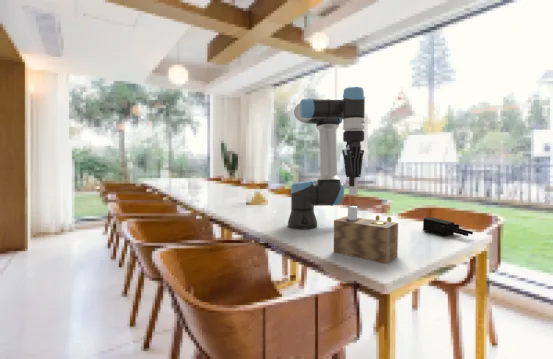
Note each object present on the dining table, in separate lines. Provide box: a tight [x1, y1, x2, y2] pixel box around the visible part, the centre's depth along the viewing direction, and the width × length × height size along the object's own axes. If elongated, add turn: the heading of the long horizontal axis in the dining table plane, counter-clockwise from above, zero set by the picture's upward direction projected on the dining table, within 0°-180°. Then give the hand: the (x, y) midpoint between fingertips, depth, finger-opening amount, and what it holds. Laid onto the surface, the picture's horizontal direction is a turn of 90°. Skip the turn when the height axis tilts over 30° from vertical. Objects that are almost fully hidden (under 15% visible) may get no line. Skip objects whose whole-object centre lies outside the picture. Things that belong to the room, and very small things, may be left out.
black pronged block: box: [422, 216, 474, 237], centre depth 139 cm, size 11×6×20 cm
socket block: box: [333, 215, 399, 264], centre depth 112 cm, size 20×10×12 cm, turn 49°
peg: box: [347, 205, 358, 221], centre depth 115 cm, size 3×3×10 cm
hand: (353, 194), depth 114 cm, fingers closed
